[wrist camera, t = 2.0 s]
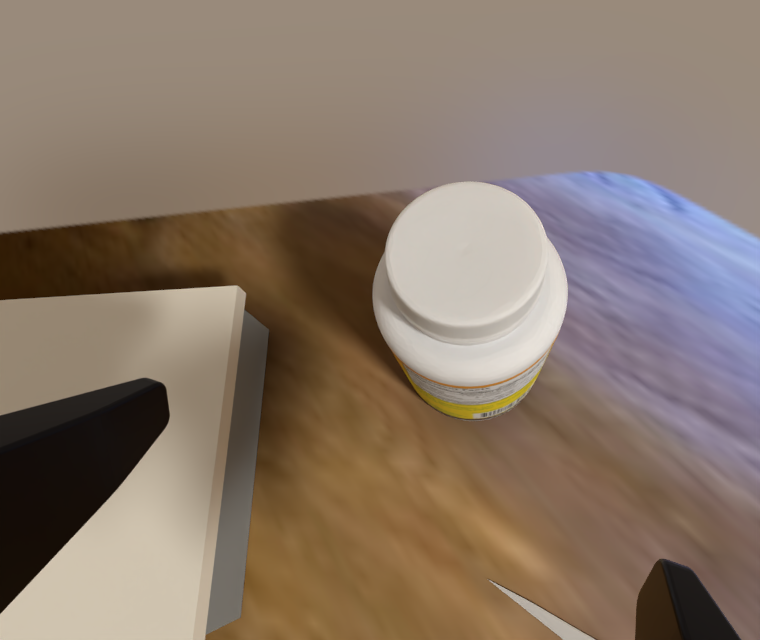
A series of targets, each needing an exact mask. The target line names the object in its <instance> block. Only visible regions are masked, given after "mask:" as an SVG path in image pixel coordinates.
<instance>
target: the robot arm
mask: <svg viewBox="0 0 760 640" xmlns="http://www.w3.org/2000/svg"><path fill="white" fill-rule="evenodd" d="M169 419H170V412H169V404H168V396H167V389H166V386H165V385H164V384H163V383H162V382H159V381H156V380H153V379H150V378H140V379H136V380H132V381H128V382H125V383H121V384H117V385H113V386H109V387H106V388H102V389H98V390H94V391H91V392H87V393H83V394H79V395H75V396H72V397H68V398H64V399H60V400H57V401H53V402H49V403H45V404H41V405H38V406H34V407H30V408H26V409H23V410H19V411H15V412H11V413H7V414H4V415H0V614H1V613H2V612H3V611H4V610H5V609H6V608H7V607H8V605H9V604H10V603H11V602H12V601H13V600H14V599H15V598H16V597H17V596H18V595H19V594H20V593H21V592H22V591H23V590H24V588H25V587H26V586H27V585H28V584H29V583H30V582H31V581H32V580H33V579H34V578H35V577H36V576H37V575H38V574H39V573H40V571H41V570H42V569H43V568H44V567H45V566H46V565H47V564H48V563H49V562H50V561H51V560H52V559H53V558H54V557H55V555H56V554H57V553H58V552H59V551H60V550H61V549H62V548H63V547H64V546H65V545H66V544H67V543H68V542H69V541H70V540H71V538H72V537H73V536H74V535H75V534H76V533H77V532H78V531H79V530H80V529H81V528H82V527H83V526H84V525H85V524H86V523H87V521H88V520H89V519H90V518H91V517H92V516H93V515H94V514H95V513H96V512H97V511H98V510H99V509H100V508H101V507H102V506H103V504H104V503H105V502H106V501H107V500H108V499H109V498H110V497H111V496H112V495H113V494H114V492H115V491H116V490H117V489H118V488H119V487H120V485H121V484H122V483H123V482H124V480H125V479H126V478H127V477H128V475H129V474H130V473H131V472H132V470H133V469H134V468H135V467H136V465H137V464H138V463H139V461H140V460H141V459H142V458H143V456H144V455H145V454H146V452H147V451H148V450H149V449H150V447H151V446H152V445H153V444H154V442H155V441H156V440H157V438H158V437H159V436H160V435H161V433H162V432H163V431H164V429H165V428H166V426H167V425H168V422H169ZM635 640H741V639H740V637H739V636H738V634H737V633H736V631H735V630H734V629H733V627H732V626H731V624H730V623H729V621H728V620H727V618H726V617H725V616H724V614H723V613H722V611H721V610H720V608H719V607H718V605H717V604H716V603H715V601H714V600H713V598H712V597H711V595H710V594H709V593H708V591H707V590H706V588H705V587H704V585H703V584H702V582H701V581H700V580H699V578H698V577H697V575H696V574H695V573H694V572H693V571H692V570H691V569H690V568H689V567H687V566H684V565H681V564H678V563H675V562H673V561H670V560H667V559H659V560H658V561H657V562H656V563H655V565H654V567H653V568H652V570H651V572H650V574H649V576H648V577H647V579H646V581H645V583H644V585H643V586H642V588H641V590H640V592H639V595H638V599H637V607H636V632H635Z"/></svg>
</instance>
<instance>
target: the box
mask: <svg viewBox="0 0 760 640" xmlns="http://www.w3.org/2000/svg"><path fill="white" fill-rule="evenodd" d="M245 299H246V293H245V292H244V291H243V290H242V289H241V288H240V287H239V286H221V287H205V288H189V289H173V290H157V291H141V292H124V293H108V294H92V295H76V296H60V297H44V298H28V299H12V300H0V415H4V414H7V413H11V412H15V411H19V410H23V409H26V408H30V407H34V406H38V405H41V404H45V403H49V402H53V401H57V400H60V399H64V398H68V397H72V396H75V395H79V394H83V393H87V392H91V391H94V390H98V389H102V388H106V387H109V386H113V385H117V384H121V383H125V382H128V381H132V380H136V379H140V378H150V379H153V380H156V381H159V382H162V383H163V384H164V385H165V386H166V389H167V396H168V404H169V412H170V419H169V422H168V425H167V426H166V428H165V429H164V431H163V432H162V433H161V435H160V436H159V437H158V438H157V440H156V441H155V442H154V444H153V445H152V446H151V447H150V449H149V450H148V451H147V452H146V454H145V455H144V456H143V458H142V459H141V460H140V461H139V463H138V464H137V465H136V467H135V468H134V469H133V470H132V472H131V473H130V474H129V475H128V477H127V478H126V479H125V480H124V482H123V483H122V484H121V485H120V487H119V488H118V489H117V490H116V491H115V492H114V494H113V495H112V496H111V497H110V498H109V499H108V500H107V501H106V502H105V503H104V504H103V506H102V507H101V508H100V509H99V510H98V511H97V512H96V513H95V514H94V515H93V516H92V517H91V518H90V519H89V520H88V521H87V523H86V524H85V525H84V526H83V527H82V528H81V529H80V530H79V531H78V532H77V533H76V534H75V535H74V536H73V537H72V538H71V540H70V541H69V542H68V543H67V544H66V545H65V546H64V547H63V548H62V549H61V550H60V551H59V552H58V553H57V554H56V555H55V557H54V558H53V559H52V560H51V561H50V562H49V563H48V564H47V565H46V566H45V567H44V568H43V569H42V570H41V571H40V573H39V574H38V575H37V576H36V577H35V578H34V579H33V580H32V581H31V582H30V583H29V584H28V585H27V586H26V587H25V588H24V590H23V591H22V592H21V593H20V594H19V595H18V596H17V597H16V598H15V599H14V600H13V601H12V602H11V603H10V604H9V605H8V607H7V608H6V609H5V610H4V611H3V612H2V613H1V614H0V640H205V635H206V634H208V633H210V632H212V631H214V630H216V629H218V628H220V627H222V626H224V625H226V624H228V623H230V622H232V621H234V620H236V619H238V618H240V617H241V608H242V598H243V588H244V578H245V568H246V558H247V548H248V537H249V527H250V517H251V507H252V497H253V487H254V477H255V467H256V457H257V447H258V437H259V427H260V417H261V407H262V397H263V387H264V377H265V367H266V357H267V347H268V336H269V329H268V328H266V327H265V326H264V325H263V324H261V323H260V322H259V321H258V320H257V319H255V318H254V317H253V316H252V315H250V314H249V313H248V312H247V311H246V310H244V307H245Z"/></svg>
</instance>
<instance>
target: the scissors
mask: <svg viewBox="0 0 760 640" xmlns="http://www.w3.org/2000/svg"><path fill="white" fill-rule="evenodd" d="M489 581H490V580H489ZM490 582H492V581H490ZM492 583H493V584H494V585H495V586H497V587H498V588H499V589H500V590H502V591H503V592H504V593H506V594H507V595H508V596H509V597H511V598H512V599H513V600H514V601H516V602H517V603H518V604H519V605H521V606H522V607H523V608H524V609H526V610H527V611H528V612H529V613H531V614H532V615H533V616H534V617H536V618H537V619H538V620H539V621H541V622H542V623H543V624H544V625H546V626H547V627H548V628H549V629H551V630H552V631H553V632H555V633H556V634H557V635H558V636H560V637H561V638H562V639H563V640H596V639H594V638H592V637H590V636H589V635H587V634H585V633H583V632H582V631H580V630H578V629H576V628H575V627H573V626H571V625H570V624H568V623H566V622H565V621H563V620H561V619H559V618H558V617H556V616H554V615H553V614H551V613H549V612H548V611H546V610H544V609H542V608H541V607H539V606H537V605H536V604H534V603H532V602H530V601H528V600H527V599H525V598H523V597H521V596H519V595H517V594H515V593H513V592H511V591H509V590H507V589H506V588H504V587H502V586H500V585H498V584H496V583H494V582H492Z"/></svg>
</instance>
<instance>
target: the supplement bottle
mask: <svg viewBox="0 0 760 640" xmlns="http://www.w3.org/2000/svg"><path fill="white" fill-rule="evenodd" d="M567 298H568V286H567V279H566V274H565V270H564V267H563V264H562V261H561V259H560V257H559V255H558V253H557V251H556V249H555V248H554V246H553V244H552V243H551V242H550V240H549V239H548V238H547V237H546V233H545V231H544V228H543V225H542V223H541V221H540V219H539V218H538V216H537V215H536V214H535V212H534V211H533V209H532V208H531V207H530V206H529V205H528V204H527V203H526V202H525V201H524V200H522V199H521V198H520V197H518V196H517V195H515V194H514V193H512V192H510V191H508V190H506V189H504V188H501V187H499V186H496V185H492V184H488V183H483V182H457V183H450V184H446V185H443V186H440V187H437V188H434V189H432V190H430V191H428V192H426V193H424V194H422V195H421V196H419V197H418V198H416V199H415V200H414V201H412V202H411V203H410V204H409V205H408V206H407V207H406V208H405V209H404V210H403V211H402V212H401V213H400V215H399V216H398V217H397V219H396V220H395V222H394V223H393V225H392V228H391V230H390V232H389V234H388V238H387V241H386V246H385V252H384V254H383V256H382V258H381V260H380V262H379V264H378V267H377V270H376V273H375V277H374V283H373V292H372V299H373V308H374V313H375V318H376V321H377V324H378V327H379V329H380V331H381V334H382V336H383V338H384V340H385V341H386V343H387V345H388V346H389V348H390V349H391V351H392V353H393V355H394V356H395V358H396V360H397V361H398V363H399V364H400V366H401V368H402V369H403V371H404V372H405V374H406V376H407V377H408V379H409V381H410V382H411V384H412V386H413V388H414V389H415V391H416V392H417V394H418V395H419V396H420V397H421V398H422V399H423V400H424V401H425V402H426V403H427V404H428V405H430V406H431V407H432V408H433V409H435V410H437V411H438V412H440V413H442V414H444V415H446V416H449V417H452V418H455V419H459V420H466V421H480V420H487V419H491V418H494V417H497V416H500V415H502V414H504V413H506V412H508V411H510V410H511V409H512V408H514V407H515V406H516V405H517V404H519V403H520V402H521V401H522V400H523V398H524V397H525V396H526V395H527V394H528V392H529V391H530V389H531V387H532V386H533V384H534V382H535V380H536V378H537V376H538V374H539V372H540V370H541V368H542V366H543V364H544V362H545V360H546V358H547V356H548V354H549V352H550V350H551V348H552V346H553V344H554V342H555V340H556V338H557V336H558V334H559V331H560V328H561V325H562V322H563V319H564V316H565V312H566V307H567Z"/></svg>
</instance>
